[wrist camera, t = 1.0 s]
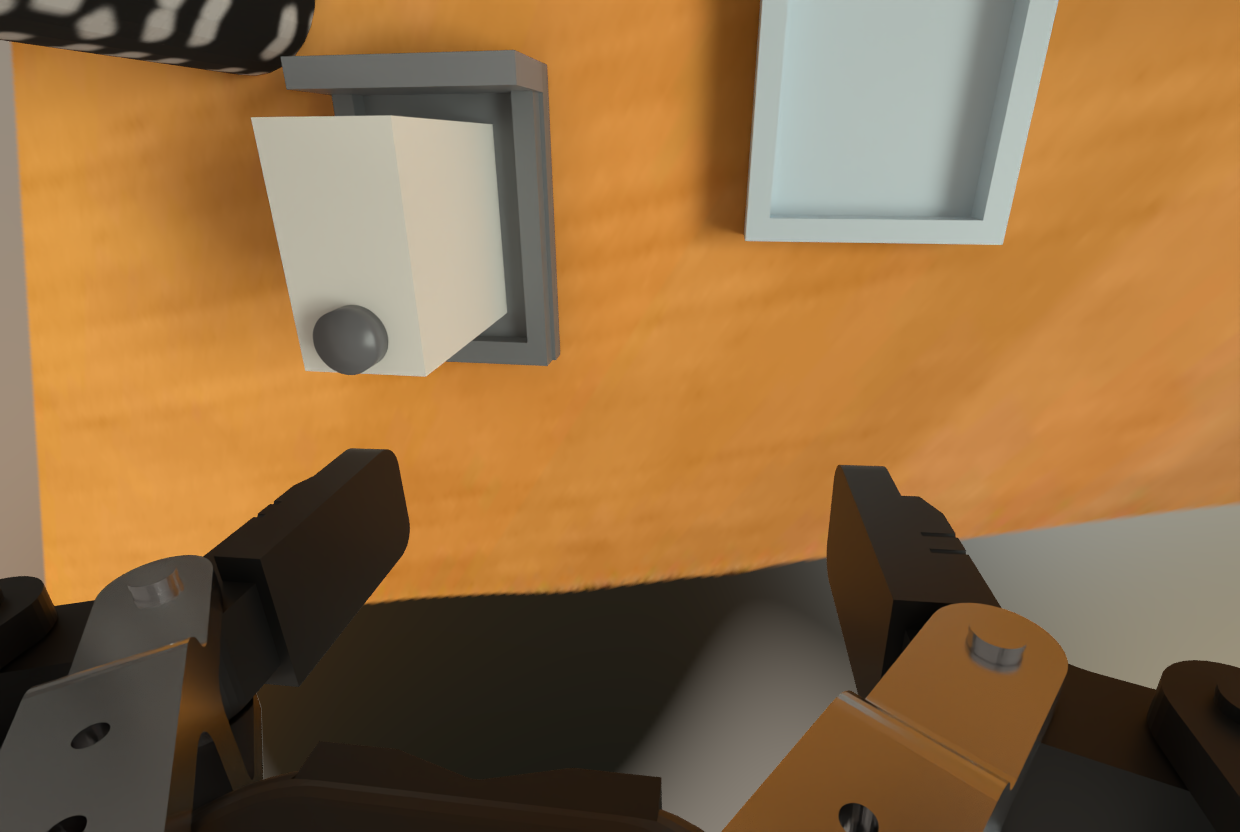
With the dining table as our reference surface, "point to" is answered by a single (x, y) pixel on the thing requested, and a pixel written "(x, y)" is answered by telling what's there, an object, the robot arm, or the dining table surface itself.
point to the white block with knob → (385, 237)
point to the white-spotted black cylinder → (166, 30)
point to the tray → (892, 118)
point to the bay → (521, 129)
